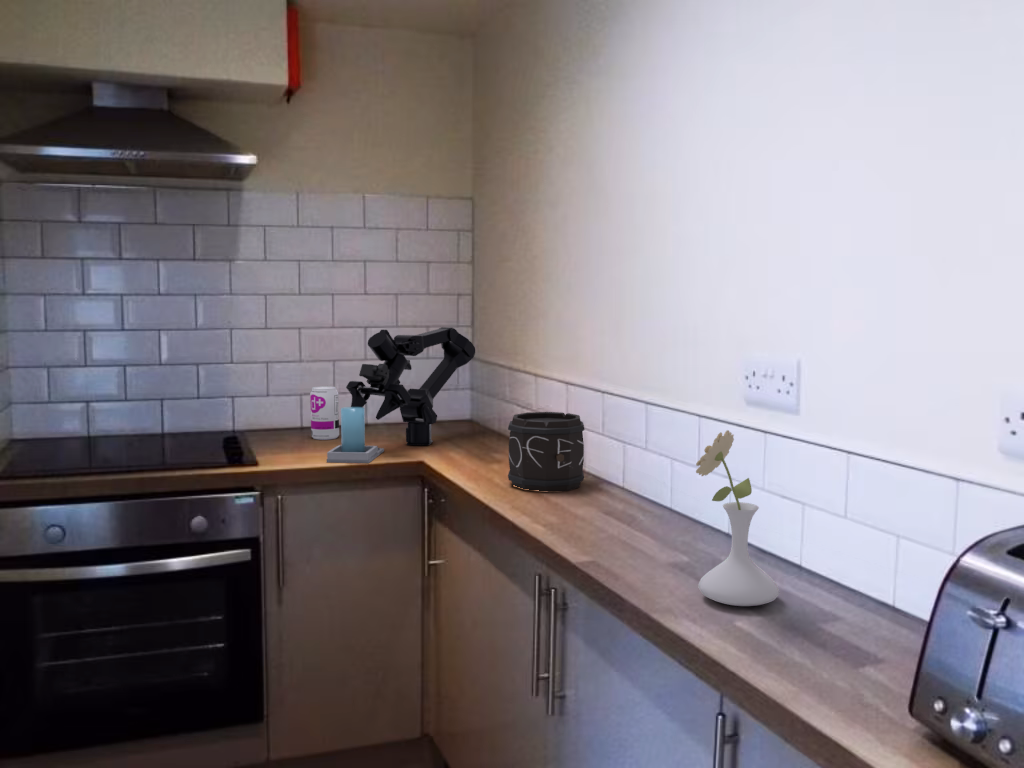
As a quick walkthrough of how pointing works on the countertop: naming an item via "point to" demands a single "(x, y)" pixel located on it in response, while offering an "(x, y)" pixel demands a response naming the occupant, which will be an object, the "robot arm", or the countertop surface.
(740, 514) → the flower in vase
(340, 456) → the kitchen sink with drainboard
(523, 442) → the wooden barrel
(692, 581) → the countertop surface
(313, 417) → the supplement can
